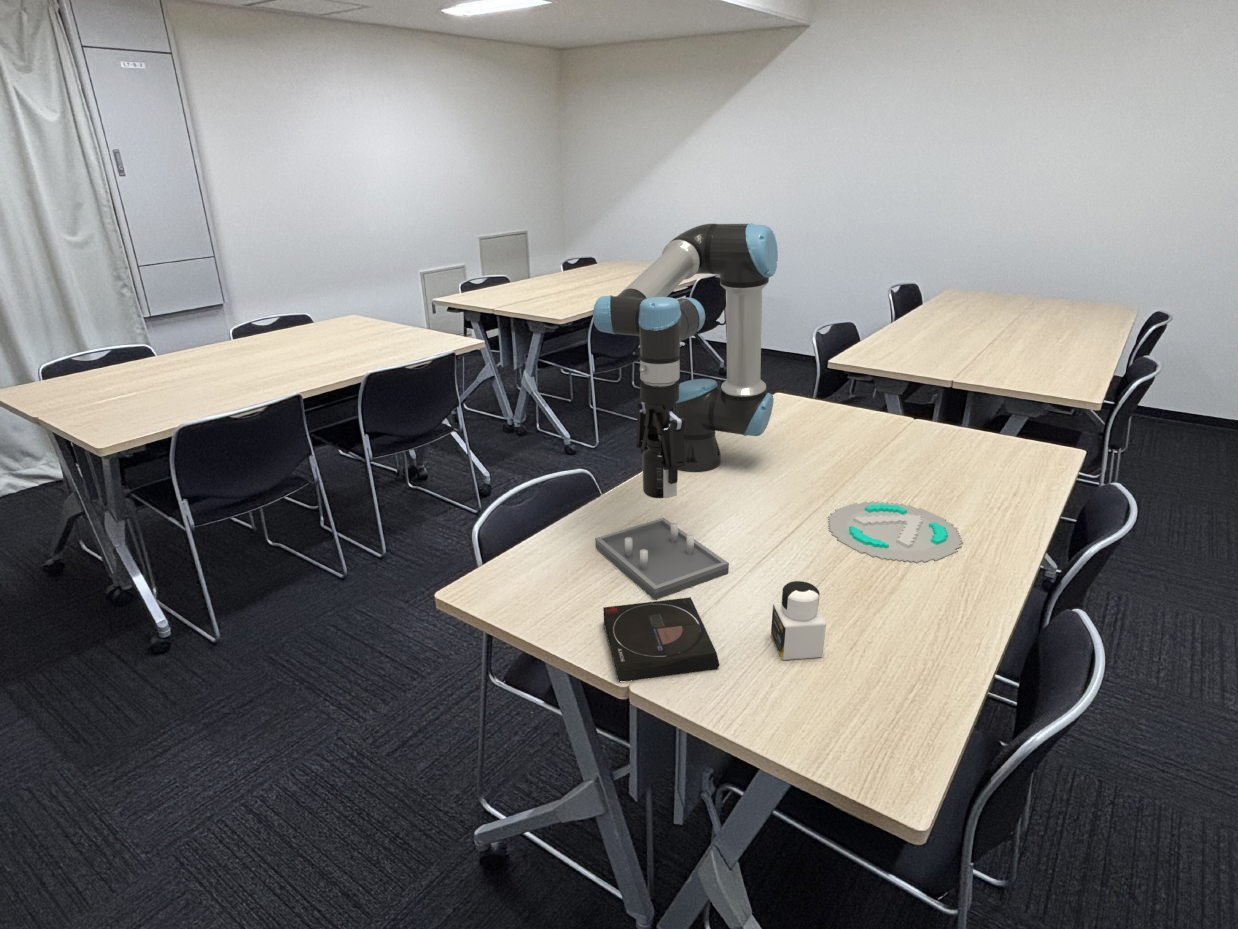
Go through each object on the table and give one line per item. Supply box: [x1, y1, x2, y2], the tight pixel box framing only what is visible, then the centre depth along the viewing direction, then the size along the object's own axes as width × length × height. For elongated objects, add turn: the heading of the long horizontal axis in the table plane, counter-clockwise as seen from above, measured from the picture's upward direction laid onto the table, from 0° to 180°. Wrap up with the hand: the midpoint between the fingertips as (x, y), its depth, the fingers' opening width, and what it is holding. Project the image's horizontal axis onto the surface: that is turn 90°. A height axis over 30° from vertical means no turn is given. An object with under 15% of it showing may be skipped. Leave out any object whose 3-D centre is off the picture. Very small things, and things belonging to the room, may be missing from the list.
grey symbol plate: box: [827, 500, 964, 564], centre depth 161 cm, size 28×28×2 cm
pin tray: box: [594, 517, 730, 601], centre depth 150 cm, size 24×18×6 cm
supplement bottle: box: [641, 433, 666, 499], centre depth 143 cm, size 7×7×12 cm
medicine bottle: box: [770, 580, 827, 661], centre depth 121 cm, size 7×7×12 cm
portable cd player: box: [602, 596, 721, 683], centre depth 124 cm, size 16×17×4 cm
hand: (659, 489), depth 145 cm, fingers closed on supplement bottle, 7 cm apart
